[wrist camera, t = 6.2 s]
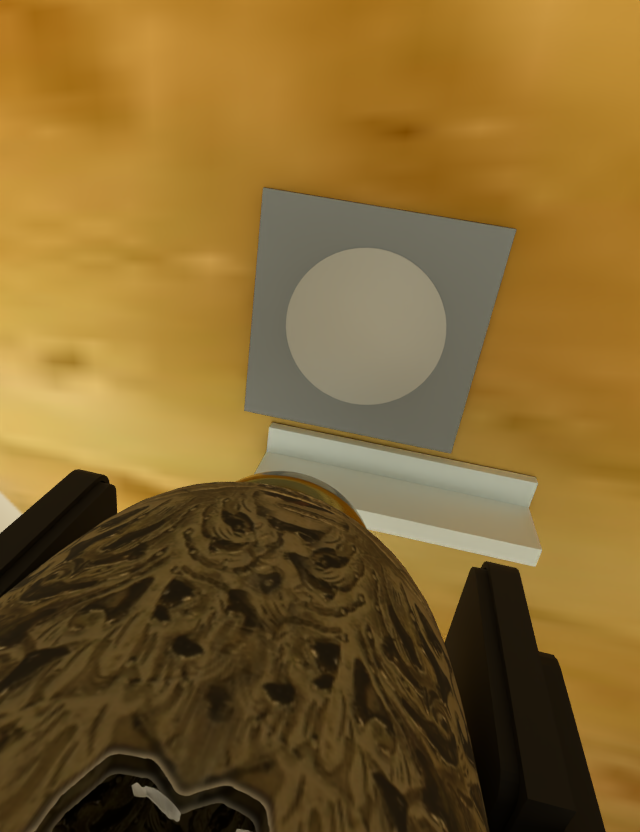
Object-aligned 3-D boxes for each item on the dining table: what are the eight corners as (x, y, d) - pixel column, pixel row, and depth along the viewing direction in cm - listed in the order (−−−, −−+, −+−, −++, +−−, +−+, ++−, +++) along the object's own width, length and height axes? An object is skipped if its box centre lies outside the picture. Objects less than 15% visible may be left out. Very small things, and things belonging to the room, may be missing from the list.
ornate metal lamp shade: (112, 591, 13) (-256, 1094, 6) (153, 314, 10) (-567, 708, 3) (397, 694, 13) (365, 1340, 6) (537, 447, 10) (873, 1262, 2)
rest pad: (450, 450, 27) (451, 454, 27) (246, 408, 28) (243, 411, 28) (515, 228, 22) (516, 229, 22) (264, 187, 23) (262, 187, 23)
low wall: (512, 538, 29) (525, 590, 25) (265, 483, 30) (244, 526, 27) (535, 477, 27) (553, 524, 23) (272, 422, 28) (250, 458, 25)
